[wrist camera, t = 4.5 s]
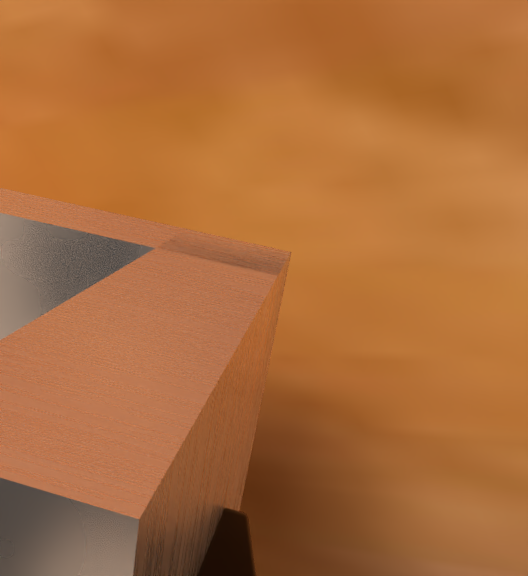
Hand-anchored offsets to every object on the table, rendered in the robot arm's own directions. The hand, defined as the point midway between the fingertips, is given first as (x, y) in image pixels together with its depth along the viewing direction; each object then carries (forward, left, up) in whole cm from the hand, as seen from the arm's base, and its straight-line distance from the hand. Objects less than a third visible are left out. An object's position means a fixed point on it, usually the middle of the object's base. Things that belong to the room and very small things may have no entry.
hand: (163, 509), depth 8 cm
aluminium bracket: (0, +2, -3) cm, 3 cm away
